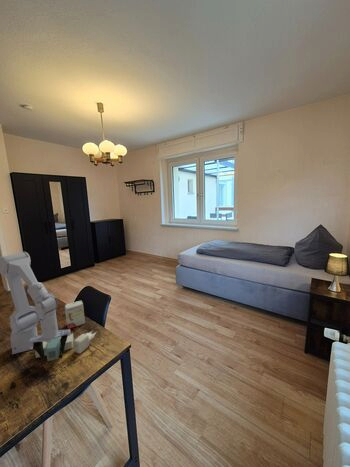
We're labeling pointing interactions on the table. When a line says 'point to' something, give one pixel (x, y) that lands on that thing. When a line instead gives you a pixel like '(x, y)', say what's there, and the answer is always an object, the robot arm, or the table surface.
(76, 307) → the ink box
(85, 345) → the power adapter
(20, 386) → the table surface
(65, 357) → the table surface
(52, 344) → the grey-green boxy piece
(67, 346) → the block
